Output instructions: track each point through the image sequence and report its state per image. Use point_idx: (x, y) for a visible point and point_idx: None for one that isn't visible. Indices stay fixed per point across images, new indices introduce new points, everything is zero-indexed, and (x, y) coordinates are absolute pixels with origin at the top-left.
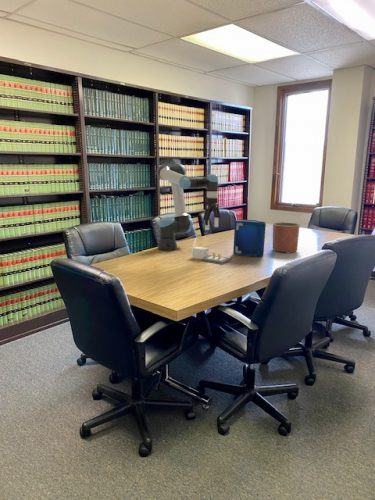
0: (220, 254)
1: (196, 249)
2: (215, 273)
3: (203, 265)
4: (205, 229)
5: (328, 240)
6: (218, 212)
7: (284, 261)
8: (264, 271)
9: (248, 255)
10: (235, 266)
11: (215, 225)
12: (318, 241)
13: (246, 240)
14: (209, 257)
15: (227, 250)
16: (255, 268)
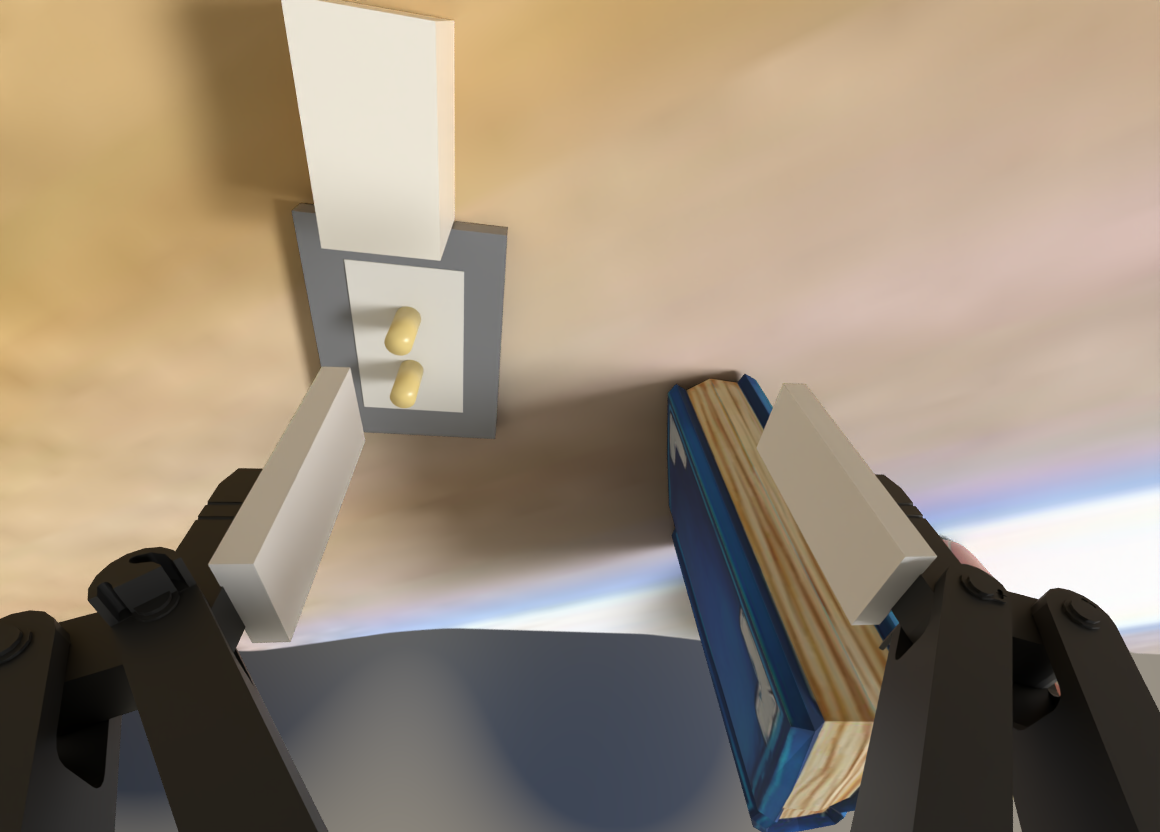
0: (407, 403)
1: (301, 99)
2: (74, 465)
3: (165, 298)
4: (322, 378)
5: (1142, 651)
6: (1020, 799)
7: (619, 630)
8: (368, 622)
9: (668, 485)
10: (350, 500)
11: (787, 423)
12: (1126, 631)
13: (700, 574)
14: (389, 270)
15: (855, 269)
16: (392, 584)
